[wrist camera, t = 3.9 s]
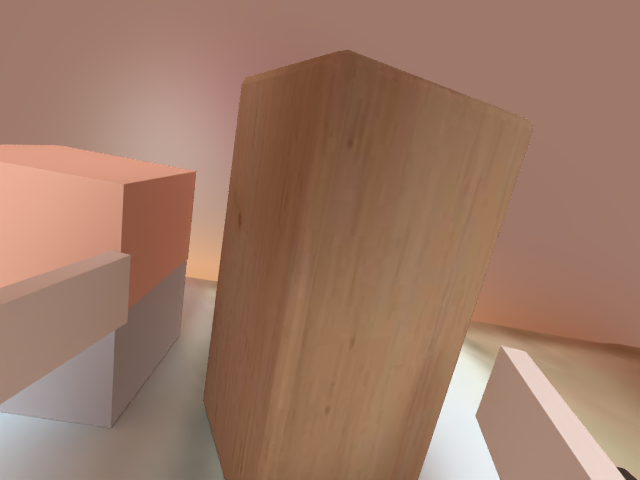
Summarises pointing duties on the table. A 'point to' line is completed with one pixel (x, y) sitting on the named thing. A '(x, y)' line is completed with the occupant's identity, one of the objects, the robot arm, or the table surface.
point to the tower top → (91, 213)
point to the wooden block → (350, 266)
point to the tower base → (109, 364)
